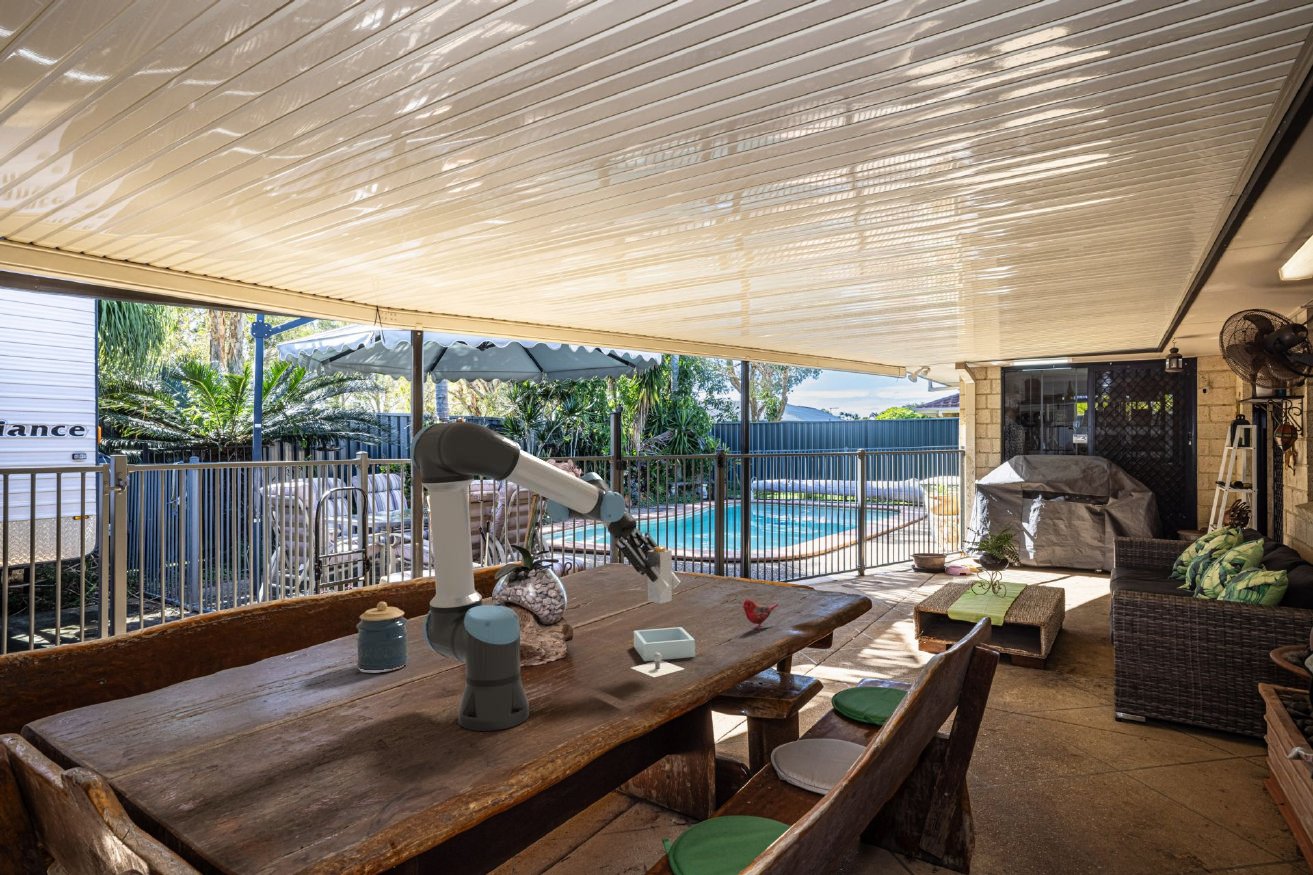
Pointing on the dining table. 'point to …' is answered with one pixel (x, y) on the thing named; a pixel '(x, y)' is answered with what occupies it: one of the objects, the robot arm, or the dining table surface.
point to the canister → (382, 638)
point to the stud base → (657, 667)
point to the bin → (664, 643)
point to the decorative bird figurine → (756, 612)
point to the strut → (664, 567)
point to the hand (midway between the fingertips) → (671, 587)
